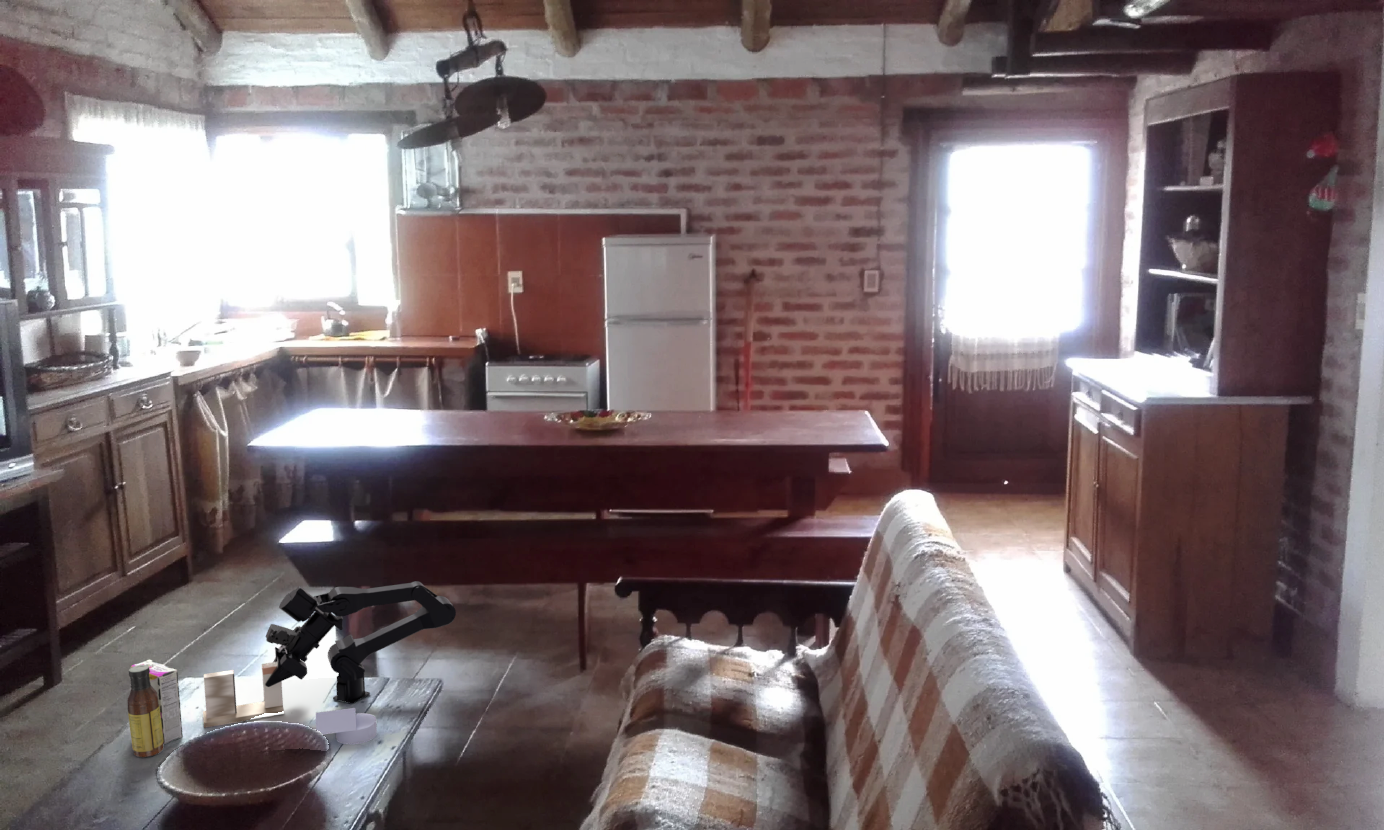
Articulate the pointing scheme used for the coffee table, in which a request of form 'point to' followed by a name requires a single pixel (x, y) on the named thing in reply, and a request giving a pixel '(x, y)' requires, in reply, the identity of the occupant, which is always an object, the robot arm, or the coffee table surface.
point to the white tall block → (271, 687)
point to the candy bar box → (166, 698)
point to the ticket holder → (228, 701)
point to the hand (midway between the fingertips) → (266, 683)
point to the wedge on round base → (347, 725)
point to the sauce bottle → (144, 714)
